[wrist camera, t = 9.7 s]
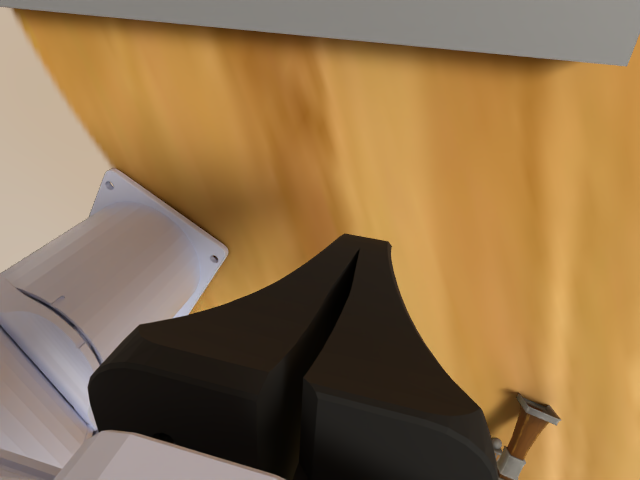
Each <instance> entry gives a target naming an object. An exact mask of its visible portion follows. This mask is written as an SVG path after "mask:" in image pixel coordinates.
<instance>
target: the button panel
mask: <svg viewBox="0 0 640 480" xmlns="http://www.w3.org/2000/svg"><path fill="white" fill-rule="evenodd" d="M0 7H8V8H19V9H29V10H40V11H50V12H61V13H72V14H82V15H93V16H103V17H114V18H124V19H135V20H145V21H156V22H166V23H177V24H187V25H198V26H208V27H219V28H229V29H240V30H250V31H261V32H271V33H282V34H292V35H303V36H314V37H324V38H335V39H345V40H356V41H366V42H377V43H387V44H398V45H408V46H419V47H429V48H440V49H450V50H461V51H471V52H482V53H492V54H503V55H513V56H524V57H534V58H545V59H556V60H566V61H577V62H587V63H598V64H608V65H619V66H627V65H628V62H629V60H630V57H631V55H632V52H633V49H634V47H635V44H636V42H637V39H638V36H639V34H640V0H0Z"/></svg>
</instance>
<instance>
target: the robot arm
mask: <svg viewBox="0 0 640 480" xmlns="http://www.w3.org/2000/svg"><path fill="white" fill-rule="evenodd" d="M110 182H111V183H112V184H113V186H114V187H113V186H112V185H111V184H110ZM391 247H392V246H391V245H390V243H389V242H388V241H382V240H377V239H372V238H366V237H361V236H355V235H350V234H343V235H342V236H340V237H339V238H338V239H336V240H335V241H334V242H333V243H331V244H330V245H329V246H328V247H327V248H325V249H324V250H323V251H321V252H320V253H319V254H318V255H316V256H315V257H313V258H312V259H311V260H309V261H308V262H307V263H305V264H304V265H302V266H301V267H300V268H298V269H296V270H295V271H293V272H292V273H290V274H289V275H287V276H285V277H284V278H282V279H281V280H279V281H277V282H275V283H273V284H271V285H269V286H267V287H265V288H263V289H261V290H259V291H257V292H255V293H252V294H250V295H247V296H245V297H242V298H240V299H237V300H234V301H232V302H229V303H227V304H224V305H221V306H218V307H214V308H211V309H208V310H205V311H201V312H197V313H193V314H190V315H189V313H190V312H191V310H192V309H193V307H194V306H195V304H196V303H197V301H198V299H199V298H200V296H201V295H202V293H203V292H204V290H205V289H206V287H207V286H208V284H209V283H210V281H211V280H212V278H213V277H214V275H215V274H216V272H217V271H218V269H219V268H220V266H221V265H222V263H223V262H224V260H225V259H226V257H227V256H228V249H227V247H226V246H225V245H224V244H222V243H221V242H220V241H218V240H217V239H215V238H214V237H212V236H211V235H210V234H208V233H207V232H205V231H204V230H203V229H201V228H200V227H198V226H197V225H196V224H194V223H193V222H191V221H190V220H188V219H187V218H186V217H184V216H183V215H181V214H180V213H179V212H177V211H176V210H174V209H173V208H172V207H170V206H169V205H167V204H166V203H164V202H163V201H162V200H160V199H159V198H157V197H156V196H155V195H153V194H152V193H150V192H149V191H148V190H146V189H145V188H143V187H142V186H140V185H139V184H138V183H136V182H135V181H133V180H132V179H131V178H129V177H128V176H126V175H125V174H124V173H122V172H121V171H119V170H118V169H115V168H112V169H109V170H108V171H106V172H105V174H104V177H103V180H102V183H101V185H100V188H99V191H98V193H97V196H96V199H95V201H94V204H93V207H92V210H91V212H90V215H89V218H87V219H86V220H84V221H82V222H81V223H79V224H78V225H76V226H75V227H73V228H71V229H70V230H68V231H67V232H65V233H64V234H62V235H60V236H59V237H57V238H56V239H54V240H52V241H51V242H49V243H48V244H46V245H44V246H43V247H41V248H40V249H38V250H37V251H35V252H33V253H32V254H30V255H29V256H27V257H26V258H24V259H22V260H21V261H19V262H18V263H16V264H15V265H13V266H11V267H10V268H8V269H7V270H5V271H3V272H2V273H0V480H499V478H498V468H497V462H496V457H495V452H494V448H493V444H492V440H491V436H490V432H489V429H488V426H487V423H486V420H485V416H484V414H483V411H482V409H481V408H480V407H479V406H478V405H477V404H476V403H475V402H474V401H473V400H472V399H471V398H470V397H469V396H468V395H467V394H466V393H465V392H464V391H463V390H462V389H461V388H460V387H459V386H458V385H457V384H456V383H455V382H454V381H453V380H452V379H451V378H450V376H449V375H448V374H447V373H446V372H445V371H444V369H443V368H442V367H441V365H440V364H439V363H438V361H437V360H436V358H435V357H434V356H433V354H432V353H431V351H430V350H429V349H428V347H427V346H426V344H425V343H424V341H423V339H422V338H421V336H420V334H419V333H418V331H417V329H416V327H415V325H414V324H413V322H412V320H411V318H410V316H409V314H408V311H407V309H406V307H405V304H404V302H403V299H402V297H401V294H400V291H399V288H398V285H397V282H396V278H395V275H394V271H393V266H392V260H391ZM213 255H215V256H216V257H217V258H218V259H215V258H214V256H213Z"/></svg>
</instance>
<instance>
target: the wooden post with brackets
mask: <svg viewBox="0 0 640 480" xmlns="http://www.w3.org/2000/svg"><path fill="white" fill-rule="evenodd" d="M516 398H517V400H518V401H519V403H520V404H521V409H520V414H519V417H518V420H517V423H516V426H515V429H514V432H513V436H512V438H511V440H510V442H509V445H508V447H506V446H504V449H503V452H502V450H501V446H502V442H501V440H500V439H498V438H493V439H492V444H493V448H494V452H495V457H496V462H497V468H498V478H499V480H518V476H519V474H520V472H521V470H522V467H523V466H524V465H525V464H526V462H525V460H524V458H525V456H526V454H527V452H528V450H529V449H530V447H531V446H532V444H533V443H534V441H535V440H536V439H537V437H538V436H539V434H540V433H541V431H542V430H543V429H544V428H545V426H546V425H547V424H548V423H549V422H550V423H552V424H555V425H557V423H558V422H559V421H561V419H560V418H559V417H558V415H557V414H556V413H555V412H554V410H553V409H552V408H551V407H550V405H549V406H547V407H544V406H542V405H540V404H537V403H535V402H532V401H530V400H527V399H525V398H523V397H522V396H521V395H520V394H518V396H517V397H516Z"/></svg>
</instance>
